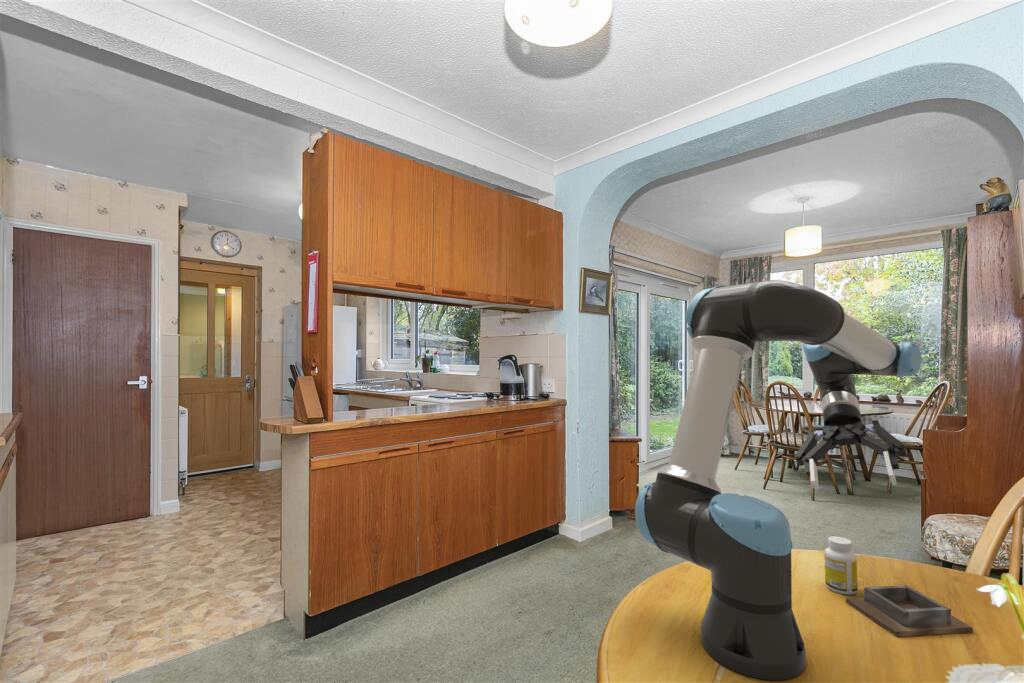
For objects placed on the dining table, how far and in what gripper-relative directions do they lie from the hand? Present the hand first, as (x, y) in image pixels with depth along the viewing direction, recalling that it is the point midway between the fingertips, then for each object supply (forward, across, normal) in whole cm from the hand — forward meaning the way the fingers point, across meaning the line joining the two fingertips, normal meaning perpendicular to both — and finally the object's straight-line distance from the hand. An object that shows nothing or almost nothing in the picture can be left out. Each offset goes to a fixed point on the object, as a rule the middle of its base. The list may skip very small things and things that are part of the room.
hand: (852, 482), depth 100 cm
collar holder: (+20, -3, -13) cm, 24 cm away
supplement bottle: (+15, +7, -14) cm, 21 cm away
